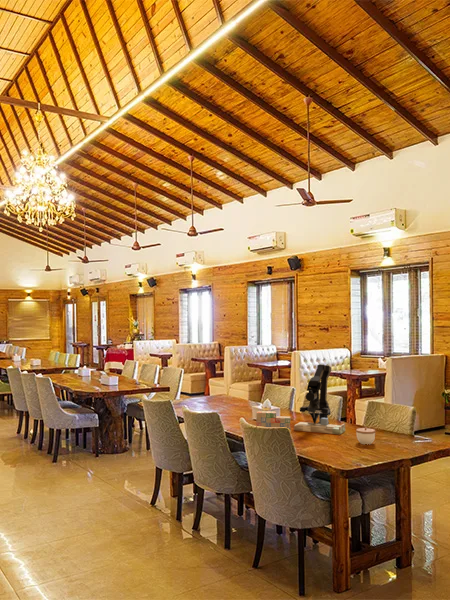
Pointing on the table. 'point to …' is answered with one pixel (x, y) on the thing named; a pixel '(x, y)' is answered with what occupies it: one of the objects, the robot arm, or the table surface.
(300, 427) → the board
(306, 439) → the table surface
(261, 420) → the stack of blocks
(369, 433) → the lidded jar
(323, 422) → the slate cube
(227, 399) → the table surface
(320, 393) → the robot arm
